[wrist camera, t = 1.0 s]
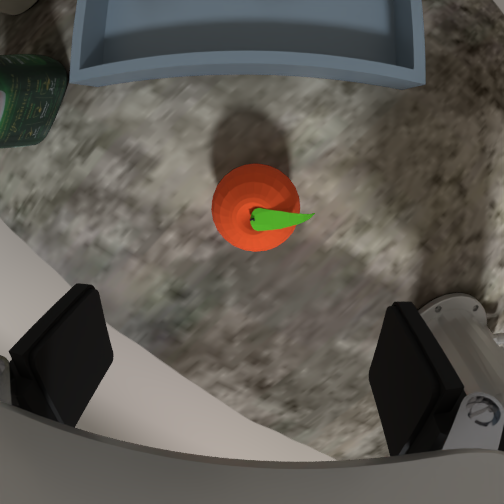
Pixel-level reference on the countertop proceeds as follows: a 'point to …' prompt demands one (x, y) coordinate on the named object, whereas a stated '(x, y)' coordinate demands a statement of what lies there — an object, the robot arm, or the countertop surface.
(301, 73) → the bin
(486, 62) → the countertop surface
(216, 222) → the clementine
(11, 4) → the travel mug
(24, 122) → the coffee jar
